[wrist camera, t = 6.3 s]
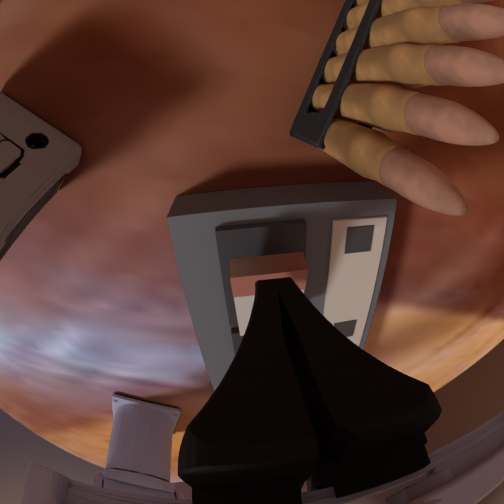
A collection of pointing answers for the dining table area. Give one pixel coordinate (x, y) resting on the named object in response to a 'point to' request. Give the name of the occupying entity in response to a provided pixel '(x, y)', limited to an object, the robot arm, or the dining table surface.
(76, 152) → the electrical switch
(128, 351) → the dining table surface
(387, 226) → the switch panel
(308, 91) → the ammunition clip
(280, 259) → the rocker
